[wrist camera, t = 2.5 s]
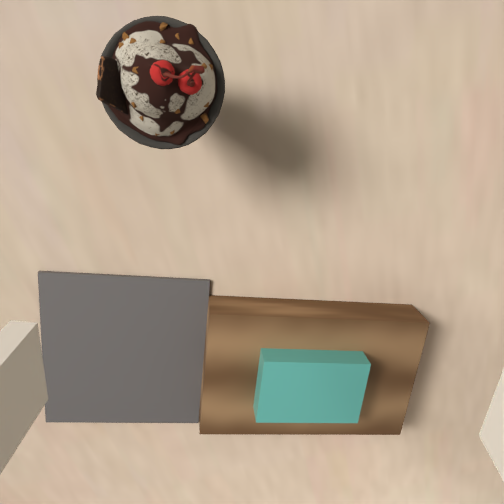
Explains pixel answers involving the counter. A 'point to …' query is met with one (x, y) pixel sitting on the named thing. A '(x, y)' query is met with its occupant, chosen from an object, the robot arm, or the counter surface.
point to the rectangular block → (310, 386)
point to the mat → (122, 347)
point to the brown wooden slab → (310, 338)
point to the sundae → (161, 82)
